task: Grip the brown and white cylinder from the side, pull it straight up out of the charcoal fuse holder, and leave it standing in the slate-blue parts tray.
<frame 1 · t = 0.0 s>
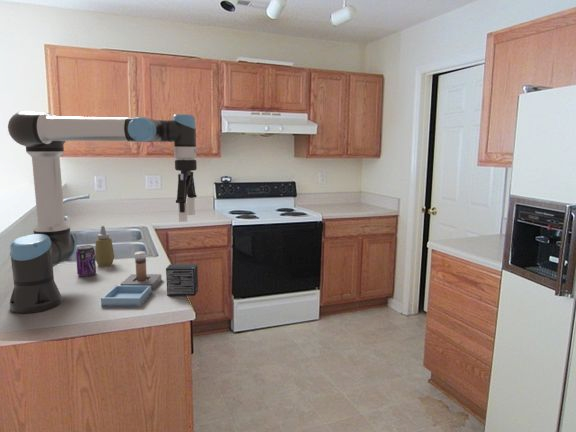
hand: (187, 218, 154), 28 cm above the worktop, tool pointing down, fingers open, 13 cm apart
squeeze bottle: (105, 265, 192), on the worktop
small box: (183, 293, 157), on the worktop
beverage can: (87, 275, 178), on the worktop
fuse holder: (141, 284, 165), on the worktop
brown and white cylinder: (141, 268, 164), in the fuse holder
parts tray: (127, 299, 150), on the worktop
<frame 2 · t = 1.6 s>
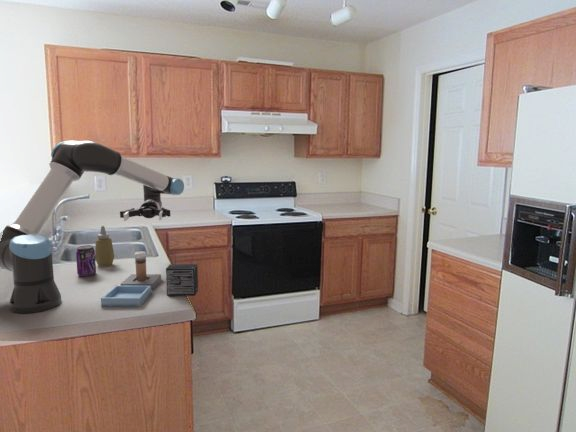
hand: (142, 217, 170), 25 cm above the worktop, tool horizontal, fingers open, 13 cm apart
nothing on the worktop moved.
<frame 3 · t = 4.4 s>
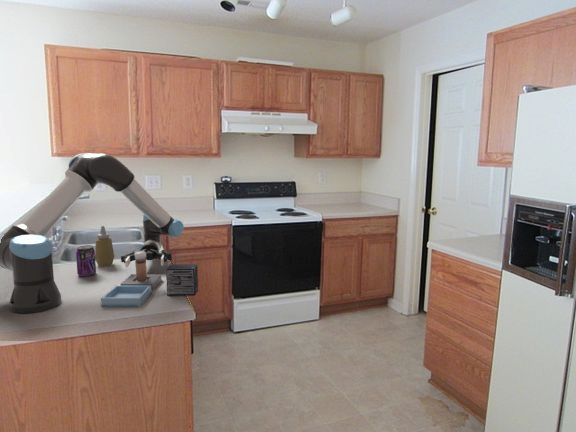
hand: (144, 263, 169), 7 cm above the worktop, tool horizontal, fingers open, 13 cm apart
nothing on the worktop moved.
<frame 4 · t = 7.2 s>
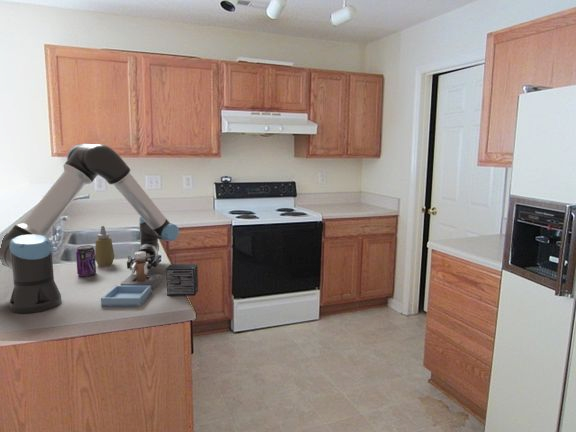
hand: (138, 270, 159), 8 cm above the worktop, tool horizontal, fingers closed on brown and white cylinder, 4 cm apart
brown and white cylinder: (141, 268, 164), in the fuse holder, touching gripper
everything else where it was.
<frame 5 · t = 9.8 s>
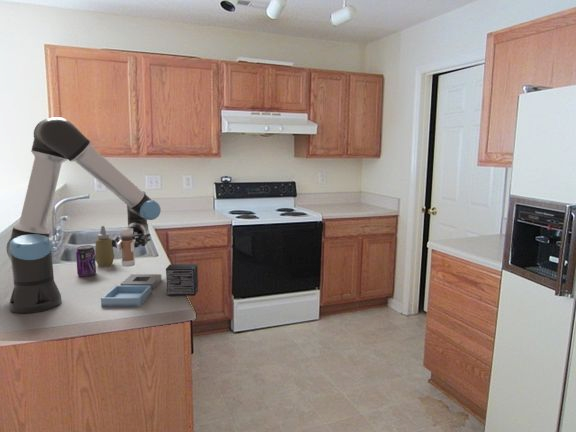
hand: (125, 247, 143), 20 cm above the worktop, tool horizontal, fingers closed on brown and white cylinder, 4 cm apart
brown and white cylinder: (127, 247, 148), point 19 cm above the worktop, touching gripper
everything else where it was.
when the fingers open (10 cm above the worktop, at t = 12.5 s): brown and white cylinder drops 1 cm, resting on parts tray.
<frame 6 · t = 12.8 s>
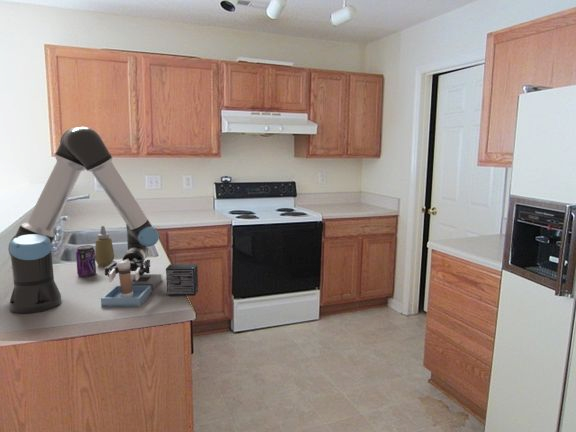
hand: (123, 277, 143), 10 cm above the worktop, tool horizontal, fingers open, 8 cm apart
brown and white cylinder: (125, 279, 148), in the parts tray, point 7 cm above the worktop
everything else where it was.
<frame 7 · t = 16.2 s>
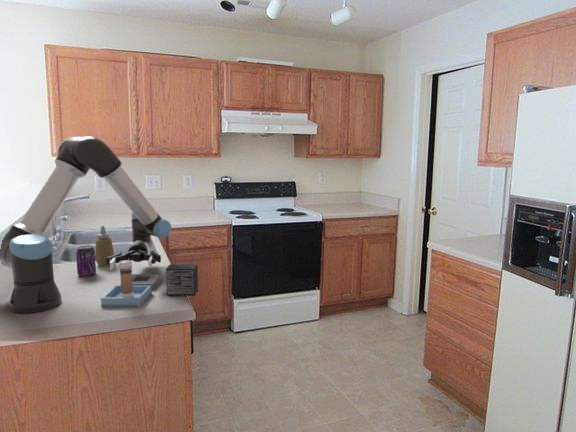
hand: (130, 265, 157), 10 cm above the worktop, tool horizontal, fingers open, 13 cm apart
nothing on the worktop moved.
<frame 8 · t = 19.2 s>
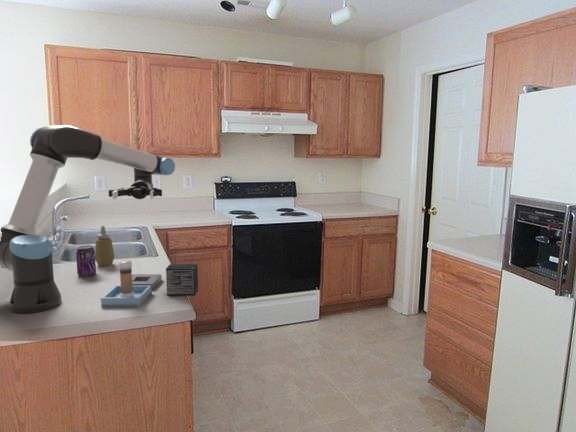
hand: (132, 195, 161), 35 cm above the worktop, tool horizontal, fingers open, 13 cm apart
nothing on the worktop moved.
at the end: brown and white cylinder inside the target area on the parts tray (0.0 cm from its centre), point 7.3 cm above the parts tray's base; brown and white cylinder tilted 1°; the gripper is holding nothing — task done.
